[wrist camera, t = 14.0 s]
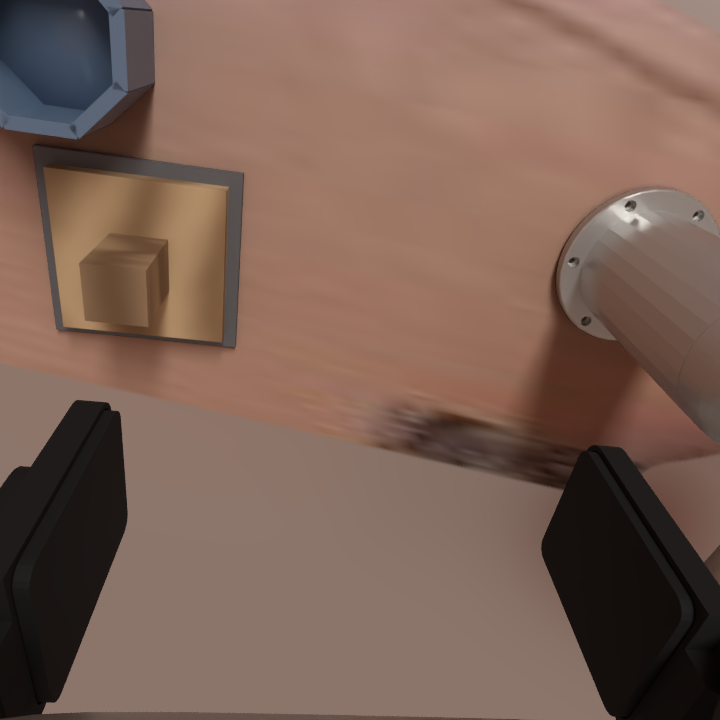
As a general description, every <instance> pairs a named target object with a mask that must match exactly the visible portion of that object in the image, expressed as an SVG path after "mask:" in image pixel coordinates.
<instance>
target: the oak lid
mask: <svg viewBox="0 0 720 720" xmlns="http://www.w3.org/2000/svg"><path fill="white" fill-rule="evenodd" d="M43 169H44V177H45V184H46V192H47V200H48V208H49V216H50V224H51V232H52V240H53V248H54V256H55V264H56V272H57V280H58V288H59V296H60V304H61V311H62V319H63V327H71V328H81V329H91V330H101V331H111V332H121V333H131V334H141V335H151V336H161V337H171V338H181V339H191V340H202V341H212V342H222V341H223V338H224V327H225V295H226V263H227V232H228V200H229V187H226V186H218V185H211V184H203V183H195V182H188V181H180V180H173V179H165V178H158V177H150V176H142V175H135V174H127V173H120V172H112V171H105V170H97V169H90V168H82V167H74V166H67V165H59V164H52V163H50V164H48V165H47V166H45V167H43Z"/></svg>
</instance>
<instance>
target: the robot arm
mask: <svg viewBox="0 0 720 720" xmlns="http://www.w3.org/2000/svg"><path fill="white" fill-rule="evenodd" d="M627 202H628V204H627V205H626V203H627ZM625 205H626V206H625ZM571 258H572V260H571V261H569V260H570V259H571ZM556 290H557V294H558V298H559V302H560V304H561V306H562V308H563V310H564V312H565V313H566V314H567V316H568V317H569V318H570V319H571V321H572V322H573V323H574V324H575V325H576V326H577V327H578V328H579V329H581V330H583V331H584V332H586V333H588V334H590V335H591V336H594V337H598V338H601V339H605V340H613V341H618V342H619V343H620V344H621V345H622V346H623V347H624V348H625V350H626V351H627V352H628V353H629V354H630V355H631V356H632V357H633V358H634V359H635V360H636V361H637V362H638V363H639V365H640V366H641V367H642V368H643V369H644V370H645V371H646V372H647V373H648V374H649V375H650V376H651V377H652V379H653V380H654V381H655V382H656V383H657V384H658V385H659V386H660V387H661V388H662V389H663V390H664V391H665V393H666V394H667V395H668V396H669V397H670V398H671V399H672V400H673V401H674V402H675V403H676V404H677V405H678V406H679V408H680V409H681V410H682V411H683V412H684V413H685V414H686V415H687V416H688V417H689V418H690V419H691V420H692V421H693V422H694V423H695V424H696V425H697V426H698V427H699V428H700V429H701V430H702V431H703V432H704V433H705V434H706V435H707V436H709V437H710V438H711V439H713V440H714V441H716V442H717V443H719V444H720V233H719V229H718V226H717V223H716V220H715V219H714V217H713V215H712V214H711V212H710V211H709V209H708V208H707V207H706V206H705V205H703V204H702V203H701V202H700V201H699V200H697V199H695V198H694V197H692V196H690V195H688V194H686V193H683V192H681V191H678V190H676V189H671V188H665V187H646V188H640V189H636V190H632V191H628V192H625V193H623V194H621V195H619V196H616V197H614V198H612V199H610V200H608V201H607V202H605V203H604V204H602V205H601V206H599V207H597V208H596V209H595V210H594V211H593V212H592V213H590V214H589V215H588V216H587V217H586V218H585V219H584V220H583V221H582V222H581V223H580V224H579V226H578V227H577V228H576V229H575V230H574V232H573V233H572V235H571V236H570V238H569V240H568V241H567V243H566V245H565V246H564V249H563V252H562V254H561V257H560V259H559V263H558V268H557V273H556ZM123 458H124V457H123V443H122V430H121V417H120V413H119V412H118V411H111V407H110V405H109V403H106V402H94V401H83V400H77V401H75V402H74V403H73V404H72V406H71V407H70V408H69V410H68V412H67V413H66V415H65V416H64V418H63V419H62V421H61V422H60V424H59V425H58V427H57V428H56V430H55V431H54V433H53V434H52V436H51V437H50V439H49V440H48V442H47V443H46V445H45V446H44V448H43V449H42V451H41V452H40V454H39V456H38V457H37V458H36V460H35V461H34V463H33V464H32V466H31V467H23V466H20V467H18V468H16V469H14V470H13V472H12V473H11V474H10V475H9V476H8V478H7V480H6V481H5V482H4V484H3V485H2V487H1V488H0V720H518V719H482V718H441V717H440V718H439V717H399V716H354V715H308V714H307V715H306V714H254V713H253V714H252V713H251V714H250V713H198V712H196V713H195V712H193V713H192V712H83V713H61V714H42V712H43V709H44V707H45V704H46V702H56V701H57V700H58V698H59V697H60V694H61V692H62V690H63V687H64V684H65V682H66V680H67V677H68V675H69V672H70V670H71V667H72V664H73V662H74V659H75V657H76V654H77V652H78V649H79V647H80V644H81V641H82V639H83V636H84V634H85V631H86V628H87V626H88V624H89V621H90V618H91V616H92V613H93V611H94V608H95V606H96V603H97V600H98V598H99V595H100V592H101V590H102V587H103V585H104V583H105V580H106V578H107V575H108V572H109V570H110V567H111V565H112V562H113V560H114V557H115V554H116V552H117V549H118V547H119V544H120V542H121V539H122V537H123V534H124V531H125V527H126V523H127V515H128V514H127V498H126V486H125V485H126V484H125V471H124V459H123ZM541 550H542V556H543V559H544V561H545V564H546V566H547V569H548V571H549V573H550V576H551V578H552V581H553V583H554V586H555V588H556V590H557V593H558V595H559V597H560V600H561V603H562V605H563V607H564V610H565V612H566V615H567V617H568V620H569V622H570V624H571V627H572V629H573V632H574V634H575V636H576V639H577V641H578V643H579V646H580V649H581V651H582V653H583V656H584V658H585V661H586V663H587V666H588V668H589V670H590V672H591V675H592V678H593V680H594V682H595V684H596V687H597V690H598V692H599V695H600V697H601V699H602V702H603V704H604V706H605V708H606V710H607V712H608V713H609V714H610V715H611V716H615V717H616V720H720V545H719V546H718V547H717V549H716V550H715V551H714V552H713V553H712V554H711V555H710V556H709V557H708V558H707V559H706V560H705V562H703V561H702V560H701V558H700V557H699V555H698V554H697V552H696V551H695V550H694V548H693V547H692V546H691V544H690V543H689V541H688V540H687V538H686V537H685V536H684V534H683V533H682V531H681V530H680V528H679V527H678V526H677V524H676V523H675V521H674V520H673V519H672V517H671V516H670V514H669V513H668V512H667V510H666V509H665V507H664V506H663V505H662V503H661V502H660V500H659V499H658V497H657V496H656V495H655V493H654V492H653V490H652V489H651V488H650V486H649V485H648V483H647V482H646V480H645V479H644V478H643V476H642V475H641V473H640V472H639V471H638V469H637V468H636V466H635V465H634V464H633V462H632V461H631V459H630V458H629V456H628V455H627V454H626V452H625V451H624V450H623V449H622V448H619V447H610V446H598V445H593V446H591V447H590V448H588V450H587V451H584V452H582V453H581V454H580V455H579V457H578V460H577V462H576V464H575V466H574V469H573V471H572V473H571V476H570V478H569V480H568V482H567V485H566V487H565V489H564V492H563V494H562V496H561V499H560V501H559V503H558V505H557V508H556V510H555V512H554V515H553V517H552V519H551V521H550V524H549V526H548V528H547V531H546V533H545V535H544V538H543V540H542V548H541Z"/></svg>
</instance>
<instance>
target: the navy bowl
mask: <svg viewBox="0 0 720 720" xmlns="http://www.w3.org/2000/svg"><path fill="white" fill-rule="evenodd" d="M151 10H152V8H151V7H150V6H149V5H148V3H147V2H146V1H145V0H0V127H2V128H3V127H4V129H6V130H13V131H20V132H27V133H35V134H42V135H49V136H56V137H63V138H70V139H80V138H82V137H84V136H87V135H89V134H91V133H93V132H95V131H97V130H99V129H101V128H104V127H106V126H108V125H110V124H112V123H113V122H114V121H115V120H116V119H117V118H119V117H120V116H121V115H122V114H123V113H124V112H125V111H126V110H127V109H128V108H129V107H130V106H131V105H132V104H134V103H135V102H136V101H137V100H138V99H139V98H140V97H141V96H142V95H143V94H144V93H145V92H146V91H147V90H149V89H150V88H151V87H152V86H153V85H154V84H153V83H155V67H154V29H153V12H152V11H151Z"/></svg>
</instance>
